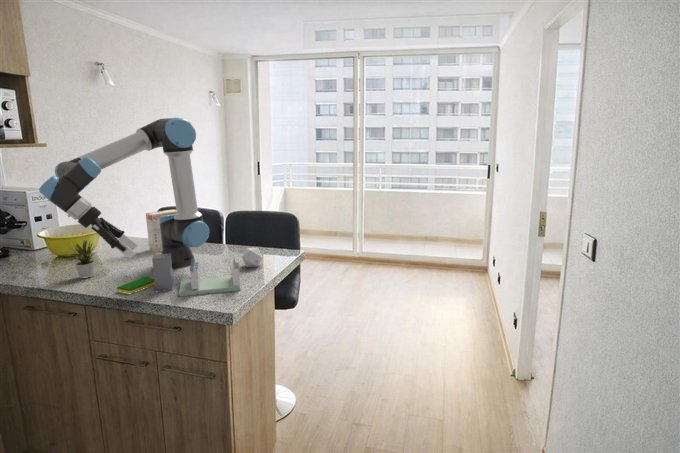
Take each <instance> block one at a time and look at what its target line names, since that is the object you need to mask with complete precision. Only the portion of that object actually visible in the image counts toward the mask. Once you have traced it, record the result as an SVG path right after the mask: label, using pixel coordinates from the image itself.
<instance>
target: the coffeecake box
mask: <svg viewBox="0 0 680 453" xmlns="http://www.w3.org/2000/svg"><path fill="white" fill-rule="evenodd" d="M170 214H177V211H176V208H175V209H166V210H158V211H152V212H146V213H145V221H146V230H147V237H148V247H149V251H151V252H153V253H157V252H162V240H161V230H160V217H161V216H164V215H170Z"/></svg>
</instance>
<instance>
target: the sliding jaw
mask: <svg viewBox="0 0 680 453" xmlns="http://www.w3.org/2000/svg"><path fill="white" fill-rule="evenodd" d="M189 273H190V275H189V276H190V280H191V288H192V290H193V289H199V282H200V279H201V278H200V277H201V276H200V263H199V261H196V259H195V258H194V259H192V260H191V265H189Z"/></svg>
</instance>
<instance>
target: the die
mask: <svg viewBox="0 0 680 453" xmlns="http://www.w3.org/2000/svg"><path fill="white" fill-rule="evenodd" d="M241 259H242V261H243V263H244V265H245V267H247V268H255V267H256V268H258V267H259V265H260V264H261V262H262V260H263V255H262V253H261V251H260V249H259V247H246V248H245V250H244V252H243V253H242V255H241Z"/></svg>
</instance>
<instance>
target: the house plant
mask: <svg viewBox="0 0 680 453" xmlns="http://www.w3.org/2000/svg"><path fill="white" fill-rule="evenodd" d="M66 243H68V244H70V245H72V246H73V248H74V250H75V251H74V250H73V248H71V247H69V246H68V247H66V249H68V250H69V249H70V250H71V251H70V252H69V253H65V255H67V258H69V259H68V261H70V262H72V261H74V260H77V262H76V263H75V268H76V271H77V273H78V277H79V278H80V277H81V278H83V277H91V276H93V275H94V276H95V263H96V262H95V260H92V259H94V256H93V255H94V254H96V253H97V251H96V252H94V253H92V251H93V249H94V248H95V247H96V246H97V244H98V243H97V244H95V245H94V246H93V241H92V242H91V241H89V242H88V238H86V239H83V242H82V246H80V244H78V242H75V244H74V243H72V242H66ZM87 245H88V246H87ZM72 251H73V252H72ZM91 253H92V254H91ZM72 256H73V257H72ZM92 256H93V257H92ZM94 276H93V277H94ZM91 278H92V277H91Z"/></svg>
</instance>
